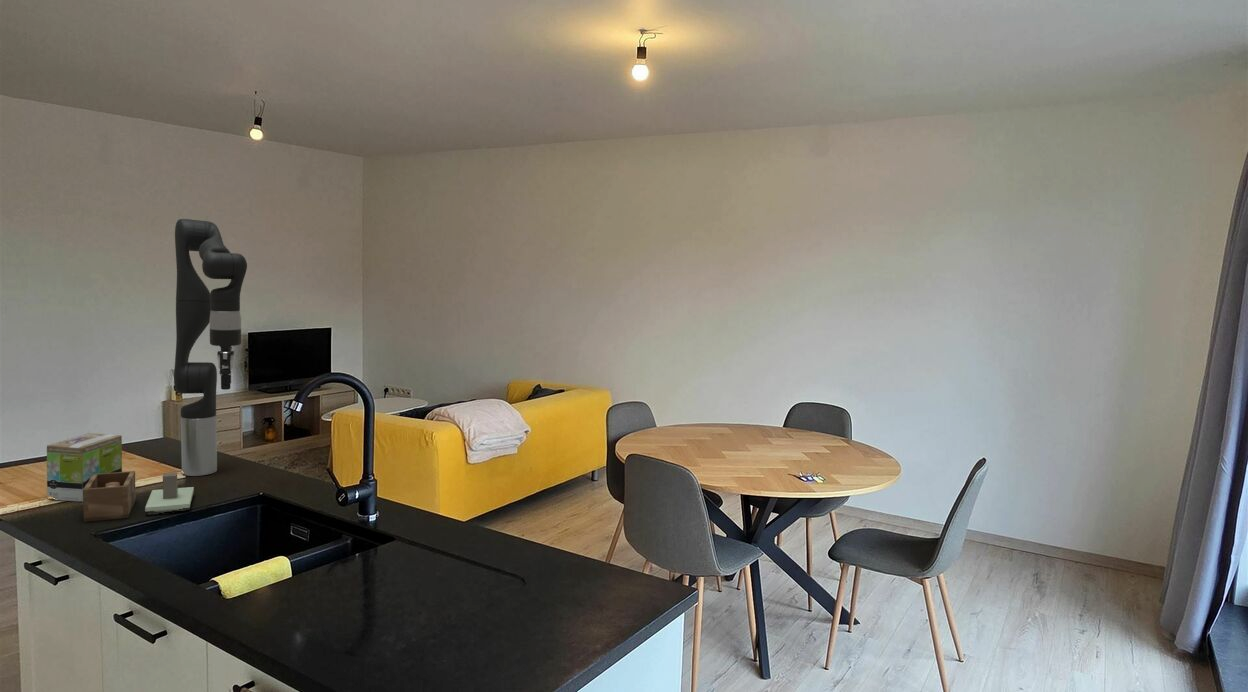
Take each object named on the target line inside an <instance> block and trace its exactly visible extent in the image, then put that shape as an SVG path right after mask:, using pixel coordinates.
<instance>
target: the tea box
mask: <svg viewBox="0 0 1248 692" xmlns="http://www.w3.org/2000/svg"><path fill="white" fill-rule="evenodd" d="M122 436H123V435H120V434H109V433H108V434H107V433H105V434H104V433H92V432H91V433H89V432H87V433H85V434H82V435H78V436H75V437H71V438H68V439H64V440H62V441H58V442H54V443H51V444H47V445H46V484H47V485H46V497H47V496H51V497H53V498H55V499H57V500H56V501H63V502H64V501H65V502H66V501H67V502H82V503H83V489H84V487H85V486H86V484H87V483H88V481H89V480H90V479H91V477H92V476H93V474H99V473H113V472H123V461H122V459H123V450H122V449H123V441H122V440H123V438H122Z"/></svg>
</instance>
